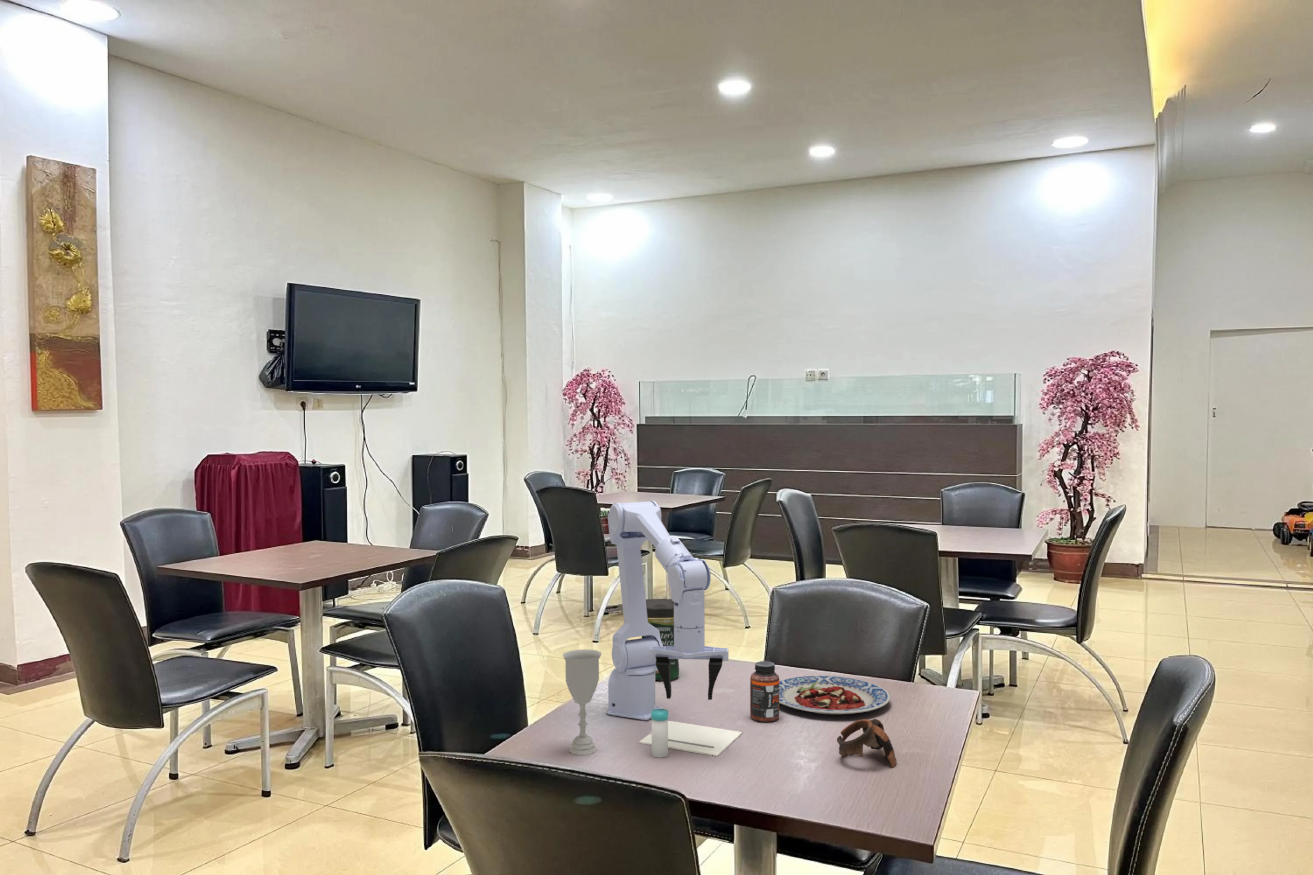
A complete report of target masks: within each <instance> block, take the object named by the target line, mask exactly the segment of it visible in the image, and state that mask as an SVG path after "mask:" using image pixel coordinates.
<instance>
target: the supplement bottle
mask: <svg viewBox="0 0 1313 875" xmlns="http://www.w3.org/2000/svg"><path fill="white" fill-rule="evenodd" d="M754 670H755V671H754V672H752V673H751V674H750V679H749V680H750V683H749V685H750V686H749V687H750V688H749V689H750V690H749V694H750V695H749V703H750V704H749V706H750V707H749V713H750V718H751V719H752V720H754V721H758V722H764V723H771V722H775V721H777V720H779V718H780V703H779V681H780V675H779V674H778V673H777V672H775V670H776V666H775V662H772V661H767V660H765V661H763V660H762V661H756V662H755V664H754Z"/></svg>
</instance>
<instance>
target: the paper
mask: <svg viewBox="0 0 1313 875" xmlns="http://www.w3.org/2000/svg"><path fill="white" fill-rule="evenodd" d="M741 734H742V735H743V732H742V731H737V730H732V729H724V728H719V727H711V726H704V725H698V724H692V723H685V722H680V721H672V720H668V749H671V750H678V751H683V752H689V753H696V754H701V755H707V756H712V755H713V756H712V757H719V756H720V755H721V754H722V753H723V752H724V751H725V750H727V748H728V746H729V747H730V746H731V745H732V744H733V743H734V742H735V741H736V740H737V739H738V738H740V737H741V736H742V735H741ZM733 741H734V742H733ZM638 742H639V744H643V745H646V746H647V745H648V746H652V732H651V733H649V734H648V735H646V736H645V737H644V738H642V739H641V740H640V741H638ZM718 755H719V756H718Z"/></svg>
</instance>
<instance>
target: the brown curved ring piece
mask: <svg viewBox="0 0 1313 875" xmlns="http://www.w3.org/2000/svg"><path fill="white" fill-rule="evenodd" d="M861 729H862V734H860V735H859V736H857V737H856V738H853V739H851V740H848V741H846V740H847V739H848V738H849V737H850V736H851V735H853V734H854V733H855V732H857V731H860V730H861ZM836 742H837V743H838V745H839V746H838V754H839V755H840V756H841V757H842V758H845V757H851V756H854V755H858V756H859V757H860V756H861V757H864V752H863V751H864V746H866V747H868V748H870V749H871V750H877V751H880V750H882V749H883V751H884V756H885V757H886V758H887V760H888V761H889V766H890V768H894V767H895V766H896V764H897V757H896V754H895V750H894V747H893V744H892V741H891V739H890V736H888V734H887V733H886V732H885V728H884V725H883V723H882V722H881V720H879V719H877V718H873V719H871V720H870V719H867V718H866V719H865V718H864V719H859V720H855V721H853V722H852V723H850V724H848V725H846V727H844V728H843V729H842V730H841V731H840V735H839V736H838V737H837V738H836Z"/></svg>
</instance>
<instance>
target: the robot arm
mask: <svg viewBox="0 0 1313 875" xmlns="http://www.w3.org/2000/svg"><path fill="white" fill-rule="evenodd" d="M607 522H608V523H607V524H608V534H609V540H610V543H611V544H614V545H615V546H616V552H617V554H616V555H617V561H618V564H617V565H618V574H619V584H620V593H621V602H622V613H623V614H622V615H623V624H622V626H620V627H619V628H618V629H617V631H616V632H615V633H613V635H612V649H611V660H612V664H613V666H614V669H613V670H612V671H611V672H610V673H609V674H610V675H609V677H608V683H607V686H608V688H607V689H608V690H607V691H608V699H607V700H608V711H606V714H607V715H609V716H616V717H622V718H628V719H635V720H640V721H641V720H643V721H648V720H650V719H651V711H652V710H654V709H664V707H662V706H658V705H656V681H655V671H659V673H660V675H661V678H662V680H661V681H662V683H663V686H664V690H665V695H666V699H671V698H672V680H671V677H670V676H671V659H678V660H700V661H701V660H702V661H703V660H705V661H706V660H707V661H708V690H707V691H708V692H707V700H709V701H712V700H713V693H714V688H715V684H716V681H717V678H718V675H719V674H720V672H721V669H722V667H723V662H729V648H728V647H727V648H725V647H716V646H709V645H707V646H706V645H705V631H706V630H705V628H706V627H705V624H706V623H705V620H706V618H705V612H706V610H705V600H706V598H705V591H707V590H708V589H709V588H710V585H711V580H712V579H711V578H712V577H711V570H710V567H709V564H708V563H707V561H706V560H705V559H703V558H701V559H699V558H698V557H694V556H693V555H692V554H691V552H690V551H689V550H688V549H687V548H686V546H685V544H683V543H682V541H681V540H680V538H678V537H674V536H671V535H670V534H669V532H668V530H667V528H666V527H665V525H664V523H663V522H662V510H661V507H660V505H658V503H657V502H656V501H655V500H649V501H635V502H632V501H631V502H614V503H613V504H612V505H611V507H610V508H609V511H608V514H607ZM647 541H649V542H650V543H651V544H652V545H653V546H654V547H655V552H654V556H655V558H656V559H657V560H658V563H660V565H661V566H662V568H663V569H664V570H665V572H666V574H667V581H668V586H669V589H670V599H672V601H674V646H663V644H662V642H661V638H660V633H659V630H658V629H656V628H655V627H654V626H652V625H651V624H649V623H648V619H647V609H646V593H645V592H646V590H645V580H644V579H645V578H644V571H643V560H642V551H641V547H642V546H643V544H644V543H645V542H647ZM642 636H646V637H647V638H642ZM636 637H641V638H636ZM630 638H633V639H630ZM634 638H635V639H634Z"/></svg>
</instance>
